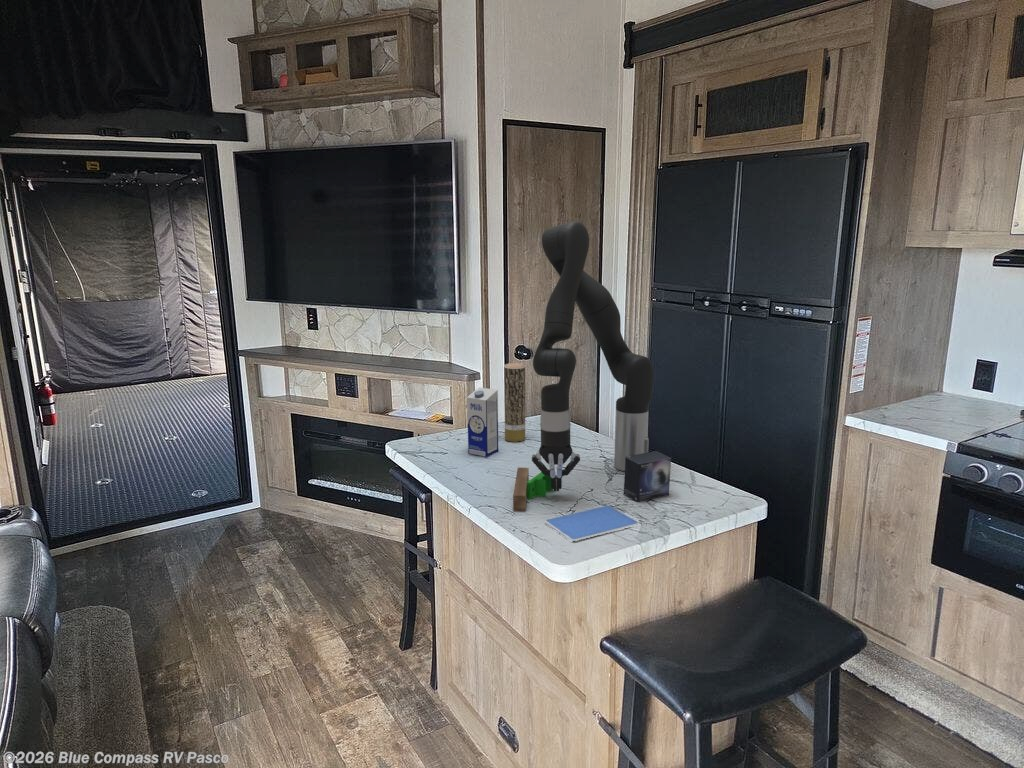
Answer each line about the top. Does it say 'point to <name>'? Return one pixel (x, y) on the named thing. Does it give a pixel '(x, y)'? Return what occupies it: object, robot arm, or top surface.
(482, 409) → the milk carton
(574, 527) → the tablet computer
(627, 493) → the small box
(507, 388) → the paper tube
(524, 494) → the block
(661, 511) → the top surface
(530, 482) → the pipe clamp
